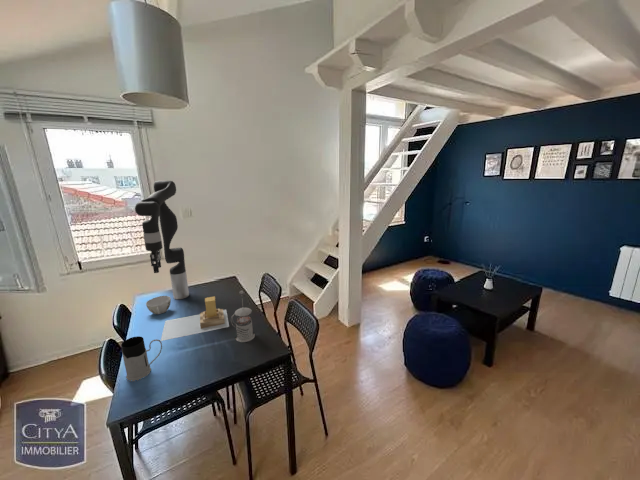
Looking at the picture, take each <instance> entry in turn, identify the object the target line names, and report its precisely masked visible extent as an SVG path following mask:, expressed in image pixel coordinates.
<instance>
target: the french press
mask: <svg viewBox="0 0 640 480" xmlns="http://www.w3.org/2000/svg"><path fill="white" fill-rule="evenodd" d="M244 292H245V291H243V290H239V294H241V295H243V294H244ZM241 300H242V301H241V304H242V306H244V302H243V299H241ZM252 311H253V310H252V309H251V308H249V307H239V308H238V309H236V310H235V311H234V313H233V314H232V315H231V317H230V319H231V320H232V321H230V323H231V325H232V327H234V328H235V330H236V336H235V337H234V338H235V340H236V341H237V342H240V343H246V342H251V341H252V340H254V338H255V337H256V334H255V332H254V329H253V328H254V327H253V320H252V317H251V316H250V314H252ZM234 316H235V317H237V318H236V320H235V321H236V322H234ZM233 323H234V324H233Z"/></svg>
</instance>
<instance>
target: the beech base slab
mask: <svg viewBox="0 0 640 480" xmlns="http://www.w3.org/2000/svg"><path fill="white" fill-rule="evenodd" d="M223 310H224V308H216V312H217V316H213V317H208V318H207V313H206V310H204V311H202V312H199V314H200V327H201V328H206V327H211V326H216V325H221V324H225V321H224V314H223Z"/></svg>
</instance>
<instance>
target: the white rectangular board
mask: <svg viewBox="0 0 640 480" xmlns="http://www.w3.org/2000/svg"><path fill="white" fill-rule="evenodd" d="M227 312H228V311H227V309H223V314H224V321H225V324H221V325H216V326H211V327H206V328H201V327H200V313H199V314H194V315H189V316H184V317H179V318H174V319H168V320H165V321H164V326H163V329H162V333H161V338H160V341H161V342H162V341H167V340H172V339H178V338H183V337H186V336H191V335H197V334H202V333H205V332H211V331H215V330H220V329H225V328H226V329H227V328H229V327H230V324H229V318H228V317H229V316H228V313H227Z"/></svg>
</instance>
